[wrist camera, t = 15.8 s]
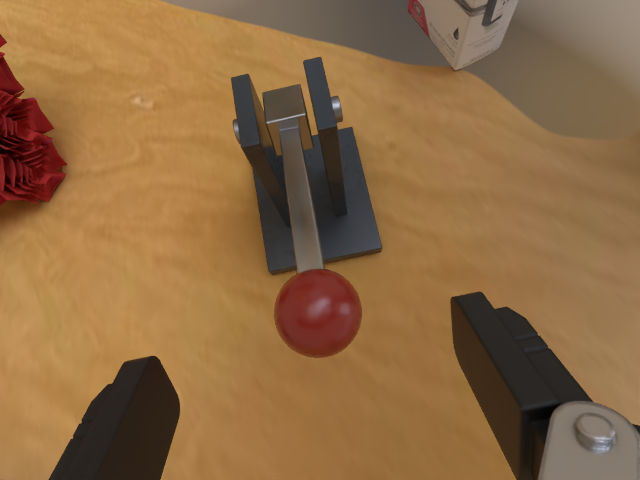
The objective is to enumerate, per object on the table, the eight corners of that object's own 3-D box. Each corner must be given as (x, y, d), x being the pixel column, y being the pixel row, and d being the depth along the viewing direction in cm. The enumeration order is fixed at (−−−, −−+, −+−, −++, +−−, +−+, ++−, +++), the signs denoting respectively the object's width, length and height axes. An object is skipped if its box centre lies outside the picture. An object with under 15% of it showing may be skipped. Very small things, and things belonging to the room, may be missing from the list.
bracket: (381, 251, 32) (392, 175, 19) (271, 275, 33) (209, 215, 20) (352, 133, 36) (345, 0, 23) (253, 156, 36) (189, 38, 23)
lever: (372, 360, 16) (367, 326, 13) (289, 377, 16) (267, 347, 14) (319, 122, 25) (309, 72, 22) (265, 134, 25) (248, 86, 22)
